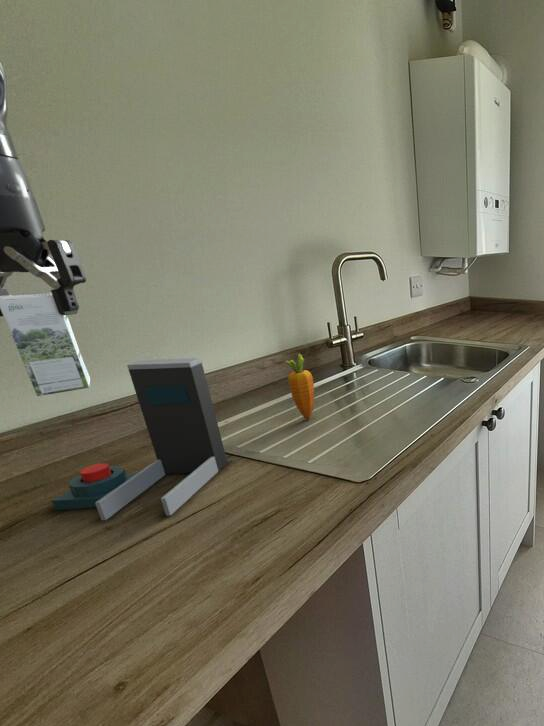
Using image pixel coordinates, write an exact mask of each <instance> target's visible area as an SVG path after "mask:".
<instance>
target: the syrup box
mask: <svg viewBox="0 0 544 726" xmlns="http://www.w3.org/2000/svg"><path fill="white" fill-rule="evenodd" d="M0 309H1V312H2V314H3V316H2V317H3V319H4V320H5V321H4V322H5V324H6V326H7V328H8V331H9V333H10V335H11V337H12V340H13V343H14V345H15V347H16V350H17V352H18V354H19V357H20V359H21V361H22V364H23V367H24V369H25V371H26V374H27V376H28V378H29V382H30V383H31V385H32V388H33V391H34V393H35V395H36V397H41V396H46V395H47V396H48V395H54V394H60V393H65V392H71V391H72V392H73V391H78V390H84V389H88V388H90V386H91V377H90V374H89V371H88V369H87V367H86V365H85V361H84V359H83V356H82V354H81V351H80V348H79V346H78V343H77V339H76V336H75V334H74V331H73V328H72V326H71V325H72V324H71V323H70V319H69V317H68V315H60V314H59V312H58V309H57V306H56V304H55V301H54V298H53V295H52V292H51V291H49V292H48V291H47V292H33V293H32V292H31V293H19V294H9V295H1V296H0Z"/></svg>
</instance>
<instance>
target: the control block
mask: <svg viewBox="0 0 544 726" xmlns="http://www.w3.org/2000/svg"><path fill="white" fill-rule="evenodd" d="M109 468H110V470H111V473H112V474H111V475H110V476H108V477H106V478H104V479H101V480H98V481H94V482H87V483H84V482H83V480H82V477H81V475H80V474H79V475H77V476H75V477H74V478H72V479H71V480H70V481H69V483H68V487H69V490H67V491H65V492H63V493H62V494H61V495H59V496H57V497H55V498H54V499H52V500H51V502H52V505H53V506H54V509H55V510H56V511H63V510H65V511H66V510H78V509H79V510H80V509H95V508H96V509H97V507H96V504H95V503H96V502H97V501H98V500H100V499H101V498H103V497H104V496H106V495H107V494H108V493H110V492H111V491H113V490H114V489H116V488H117V487H119V486H120V485H121V484H123V483H124V482H126V481H127V480H129V479H130V478H131V477H133V476H134V475H136V474H137V473H138V472H136V473H135V472H134V473H126V469H125V467H122V466H120V465H112V466H111V465H109Z"/></svg>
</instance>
